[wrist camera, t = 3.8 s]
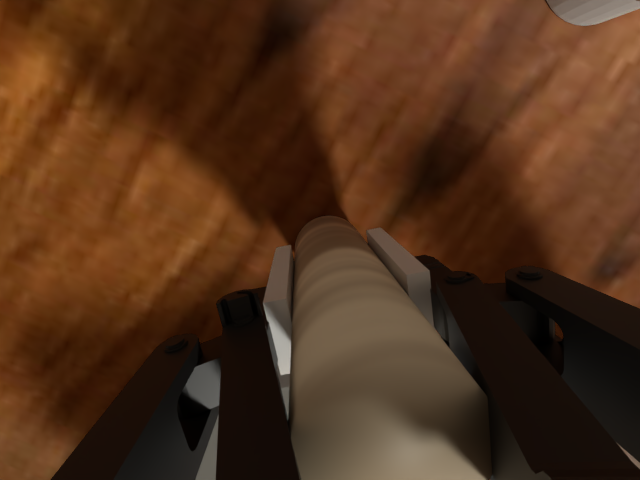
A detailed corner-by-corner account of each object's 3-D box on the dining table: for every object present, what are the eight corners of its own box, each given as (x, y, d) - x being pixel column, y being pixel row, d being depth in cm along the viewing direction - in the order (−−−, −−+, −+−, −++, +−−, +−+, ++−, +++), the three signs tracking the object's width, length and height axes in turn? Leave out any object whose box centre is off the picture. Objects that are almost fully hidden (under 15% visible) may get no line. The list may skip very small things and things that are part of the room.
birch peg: (288, 222, 19) (265, 386, 6) (356, 209, 19) (496, 340, 6) (301, 286, 20) (309, 555, 7) (366, 273, 20) (505, 514, 7)
